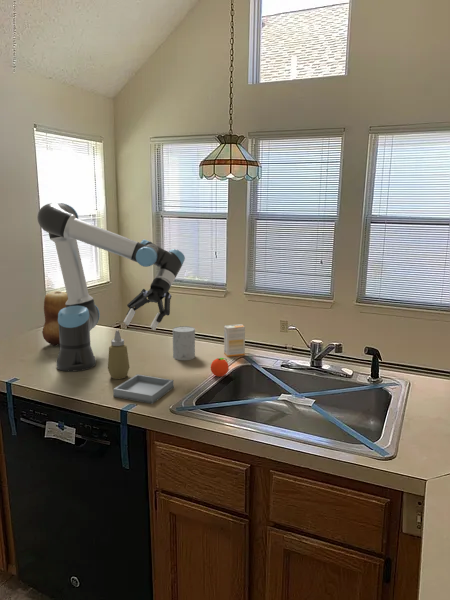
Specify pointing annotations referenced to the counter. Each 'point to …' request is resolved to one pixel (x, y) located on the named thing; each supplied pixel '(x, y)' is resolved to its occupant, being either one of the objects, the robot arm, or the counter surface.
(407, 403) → the counter surface
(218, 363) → the clementine
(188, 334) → the grey cylinder
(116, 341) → the squeeze bottle
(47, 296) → the butternut squash
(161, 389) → the tray
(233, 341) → the supplement box
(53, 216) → the robot arm
